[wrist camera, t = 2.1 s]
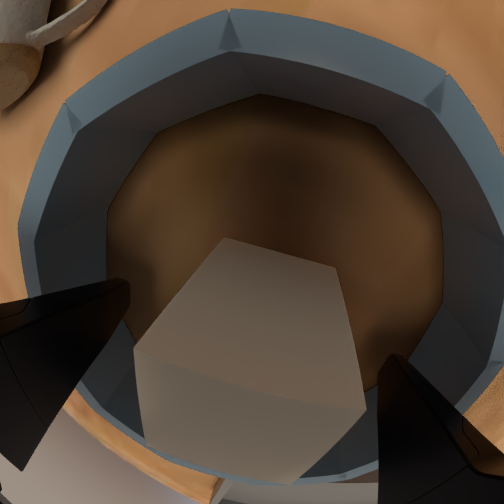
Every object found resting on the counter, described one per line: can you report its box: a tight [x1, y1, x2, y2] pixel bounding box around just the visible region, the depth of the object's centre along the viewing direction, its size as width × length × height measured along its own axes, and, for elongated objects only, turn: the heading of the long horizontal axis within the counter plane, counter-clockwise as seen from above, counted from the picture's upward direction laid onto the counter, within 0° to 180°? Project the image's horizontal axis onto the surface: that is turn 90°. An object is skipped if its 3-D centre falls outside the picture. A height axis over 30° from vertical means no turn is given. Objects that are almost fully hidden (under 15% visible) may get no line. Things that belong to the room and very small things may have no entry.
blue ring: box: [18, 9, 504, 486], centre depth 8 cm, size 16×16×4 cm
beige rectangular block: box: [133, 237, 367, 485], centre depth 7 cm, size 4×4×6 cm
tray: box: [209, 469, 378, 504], centre depth 15 cm, size 20×14×2 cm
